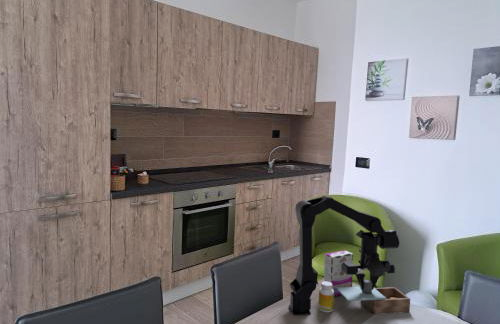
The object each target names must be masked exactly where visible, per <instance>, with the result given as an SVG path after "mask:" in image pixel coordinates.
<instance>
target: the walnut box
mask: <svg viewBox="0 0 500 324" xmlns="http://www.w3.org/2000/svg"><path fill="white" fill-rule="evenodd" d="M374 288H375V289H376V290H377V291H378V292H380V293H381V294H382V295H383V296H384V297H386V299H382V300H363V301H360V302H361V303H362V304H363V305H364V306H365V308H367V309H368V310H369V311H370V312H371V314H373V315H380V314H379V313H386V314H399V313H398V312H403V313H410V309H411V297H409V296H407V295H406V294H404V293H403V292H402V291H400V289H398V288H397V287H395V286H391V287H390V286H388V287H386V286H385V287H374ZM394 312H395V313H394ZM396 312H397V313H396Z"/></svg>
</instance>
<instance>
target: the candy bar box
mask: <svg viewBox="0 0 500 324" xmlns="http://www.w3.org/2000/svg"><path fill="white" fill-rule="evenodd" d="M343 262H353V263H354V253H353V252H351V251H348V250H341V251H333V252H329V253H324V267H323V268H324V269H323V270H324V273H323V274H324V275H323V281H328V282H331V283H332V289H333V290H334V298H335V297H339V296H343V295H342V294H341V293H340V292H339V291H338V290H337V287H353V275H348V274H346V273H345V272H344V271H343V270H342V269H341V265H342V263H343Z"/></svg>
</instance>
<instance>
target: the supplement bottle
mask: <svg viewBox="0 0 500 324" xmlns="http://www.w3.org/2000/svg"><path fill="white" fill-rule="evenodd" d="M320 286H321V287H320V288H319V289H318V306H317V307H318V310H319V311H321V312H323V313H331V312H333V311H334V306H335V305H334V302H335V297H334V290H333V289H332V283H331V282H328V281H324V280H323V281H322V282H320Z"/></svg>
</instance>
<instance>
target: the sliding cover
mask: <svg viewBox="0 0 500 324" xmlns="http://www.w3.org/2000/svg"><path fill="white" fill-rule="evenodd" d="M375 288H376V287H374V289H373V290H372V281H370V279H369V280H368V279H364V289H363V291H362V290H361V288H360V285H359V286H352V287H337V290H338V291H339V292H340V293H341V294H342V295H341V296H343V298H345V300H346V301H347V302H358V301H360V302H361V301H363V300H382V299H386V297H384V296H383V295H382V294H381V293H380V292H378V291H377V290H376V289H375Z"/></svg>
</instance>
